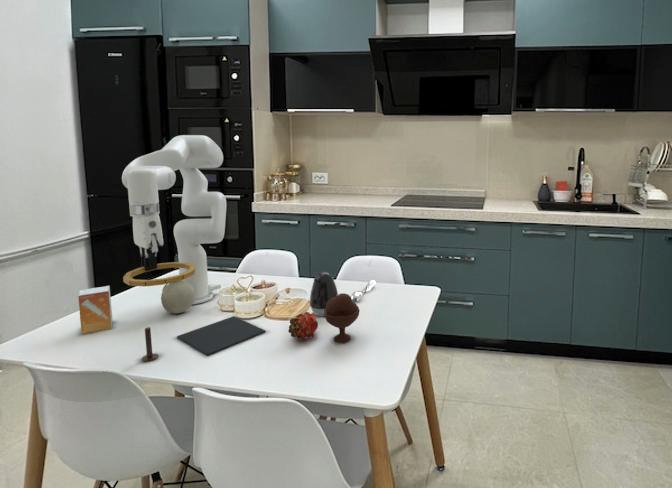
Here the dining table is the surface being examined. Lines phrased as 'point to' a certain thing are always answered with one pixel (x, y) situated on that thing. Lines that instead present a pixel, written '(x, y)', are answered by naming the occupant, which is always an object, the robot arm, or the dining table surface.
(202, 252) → the robot arm
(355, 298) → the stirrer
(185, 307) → the fruit
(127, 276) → the ring
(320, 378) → the dining table surface
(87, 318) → the small box
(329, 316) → the ice cream bowl
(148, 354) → the post
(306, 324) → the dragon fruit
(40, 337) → the dining table surface
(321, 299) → the dark grey tall dome
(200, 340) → the mat
